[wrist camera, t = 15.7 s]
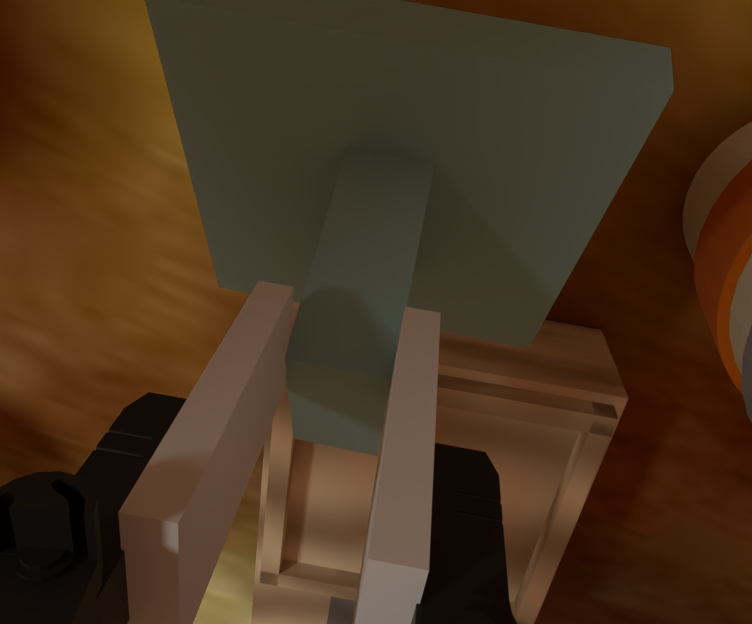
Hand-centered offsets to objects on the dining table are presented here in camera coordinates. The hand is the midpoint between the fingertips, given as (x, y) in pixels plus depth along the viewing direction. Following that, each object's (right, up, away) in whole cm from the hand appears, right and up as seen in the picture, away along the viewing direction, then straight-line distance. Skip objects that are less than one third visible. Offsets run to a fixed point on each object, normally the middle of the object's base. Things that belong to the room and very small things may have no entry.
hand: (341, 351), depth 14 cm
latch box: (+3, -8, +25) cm, 27 cm away
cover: (+1, +5, +6) cm, 8 cm away
